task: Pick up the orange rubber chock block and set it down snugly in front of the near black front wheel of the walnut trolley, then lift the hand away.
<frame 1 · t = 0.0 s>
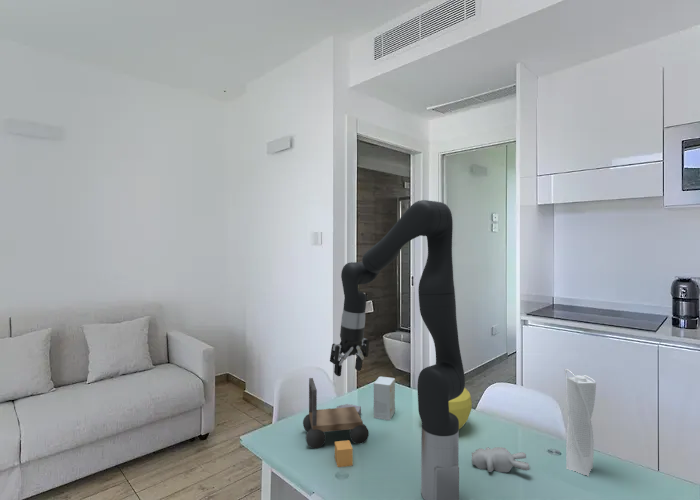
hand: (348, 372, 127), 22 cm above the table, tool pointing down, fingers open, 8 cm apart
stone block: (345, 419, 144), on the table
chock: (343, 462, 115), on the table
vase: (444, 426, 138), on the table
bunny figurine: (499, 469, 112), on the table
small box: (384, 415, 147), on the table
skyscraper: (578, 469, 112), on the table
trolley: (334, 437, 130), on the table
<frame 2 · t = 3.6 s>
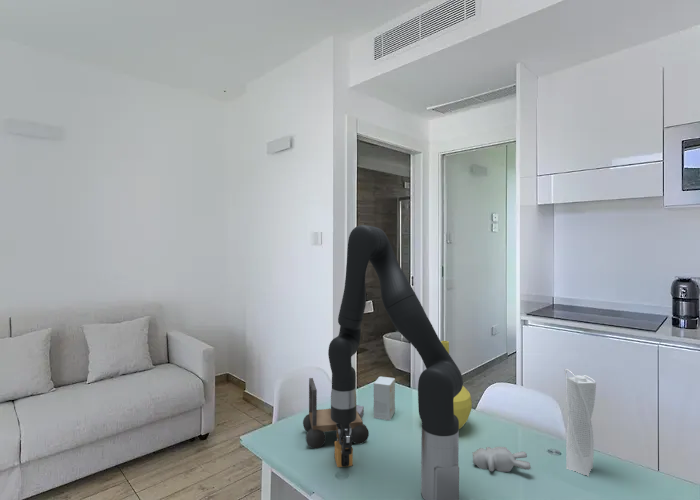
hand: (343, 460, 115), 0 cm above the table, tool pointing down, fingers closed on chock, 5 cm apart
stone block: (348, 419, 144), on the table
chock: (343, 461, 115), on the table, touching gripper
everything else where it was.
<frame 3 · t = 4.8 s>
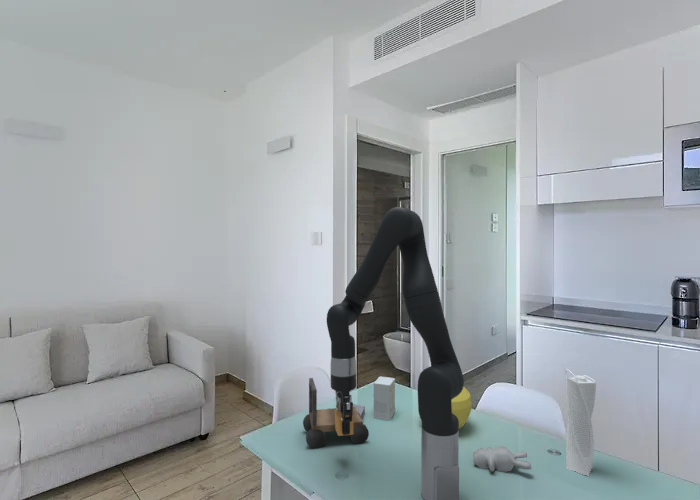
hand: (344, 429, 114), 10 cm above the table, tool pointing down, fingers closed on chock, 5 cm apart
chock: (344, 431, 114), point 9 cm above the table, touching gripper
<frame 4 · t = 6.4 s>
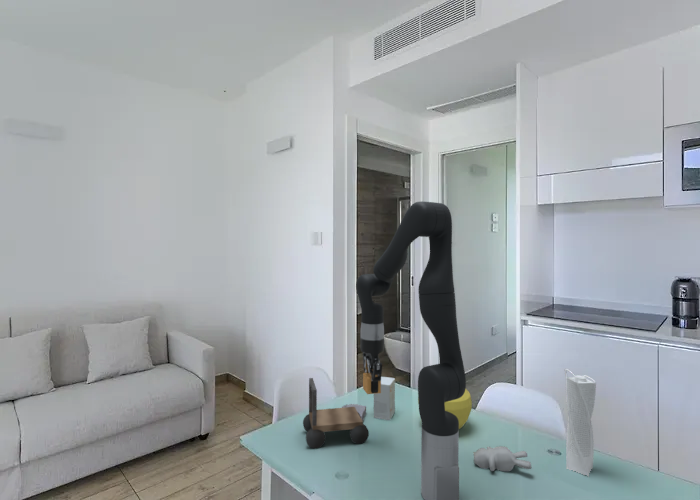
hand: (371, 389, 125), 18 cm above the table, tool pointing down, fingers closed on chock, 5 cm apart
chock: (371, 390, 125), point 17 cm above the table, touching gripper
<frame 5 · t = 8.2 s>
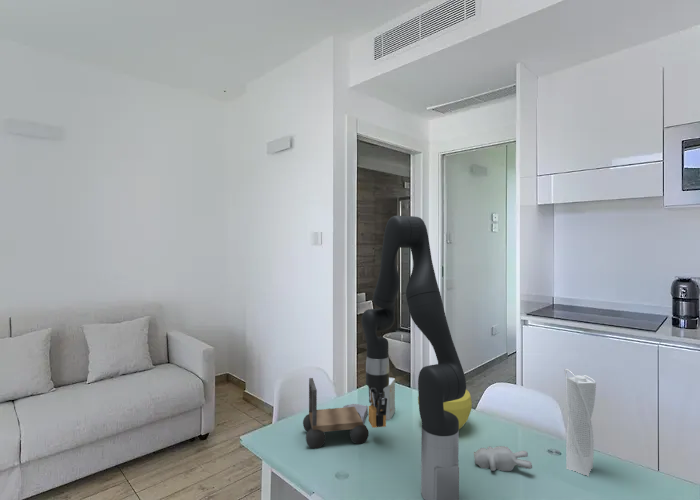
hand: (377, 422, 127), 6 cm above the table, tool pointing down, fingers closed on chock, 5 cm apart
chock: (377, 423, 127), point 6 cm above the table, touching gripper
when the fingers open (2 cm above the table, at t = 9.5 s): chock drops 1 cm, on the table.
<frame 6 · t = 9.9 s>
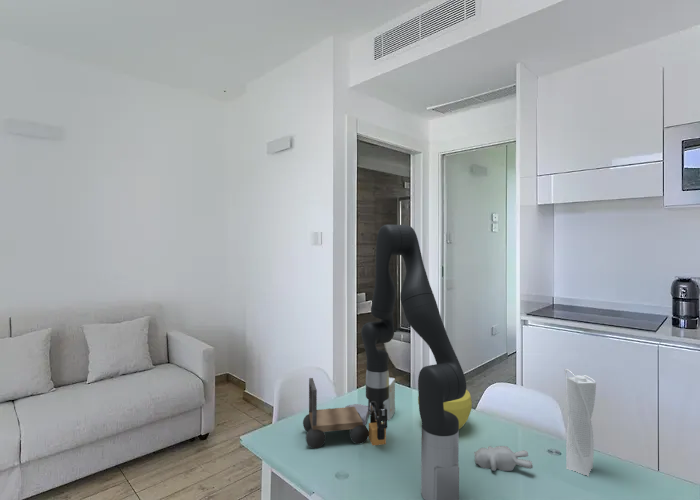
hand: (377, 432, 127), 3 cm above the table, tool pointing down, fingers open, 8 cm apart
chock: (377, 441, 127), on the table
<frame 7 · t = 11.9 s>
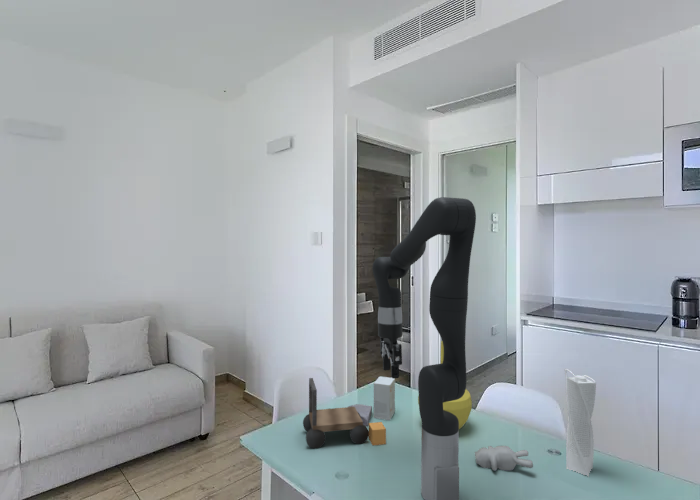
hand: (390, 373, 121), 24 cm above the table, tool pointing down, fingers open, 8 cm apart
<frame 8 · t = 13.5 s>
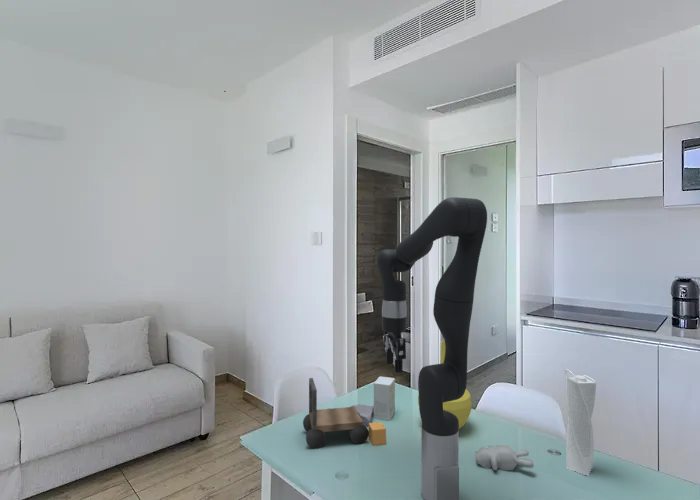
hand: (393, 367, 120), 26 cm above the table, tool pointing down, fingers open, 8 cm apart
at the end: chock 0.3 cm from the target spot, on the table; chock tilted 0°; the gripper is holding nothing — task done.
